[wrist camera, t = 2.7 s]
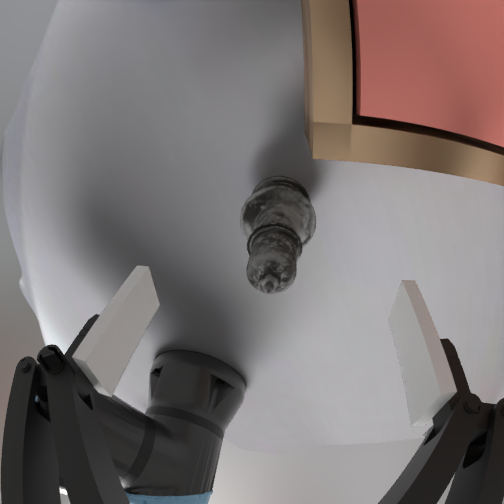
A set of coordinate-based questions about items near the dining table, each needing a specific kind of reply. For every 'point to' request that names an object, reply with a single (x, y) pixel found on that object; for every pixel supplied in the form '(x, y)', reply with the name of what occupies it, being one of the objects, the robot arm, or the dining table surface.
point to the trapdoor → (432, 64)
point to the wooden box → (371, 128)
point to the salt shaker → (276, 232)
